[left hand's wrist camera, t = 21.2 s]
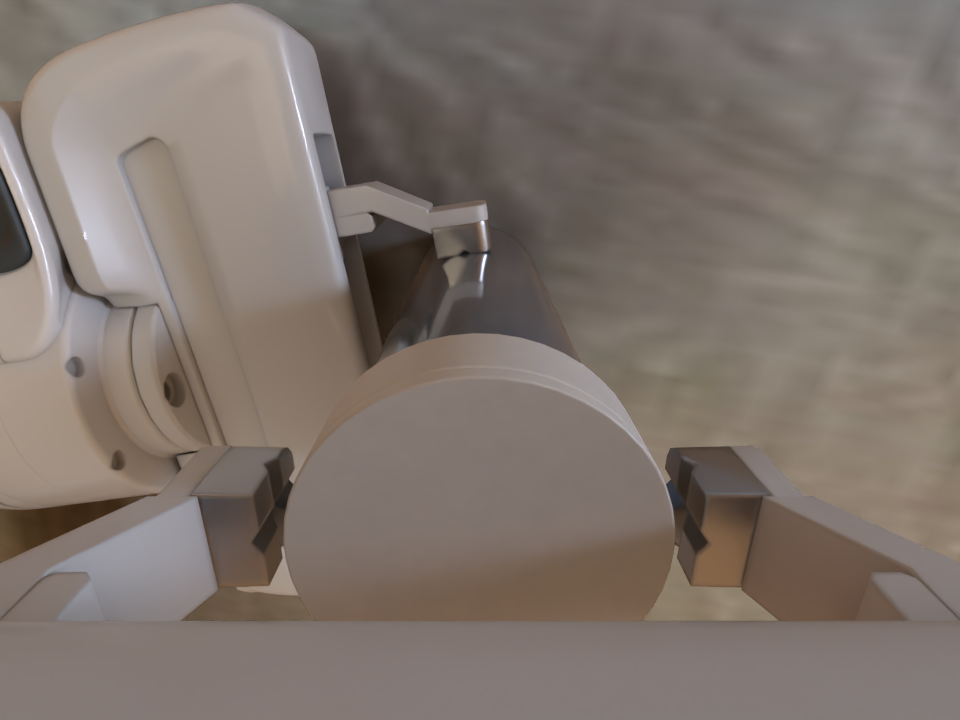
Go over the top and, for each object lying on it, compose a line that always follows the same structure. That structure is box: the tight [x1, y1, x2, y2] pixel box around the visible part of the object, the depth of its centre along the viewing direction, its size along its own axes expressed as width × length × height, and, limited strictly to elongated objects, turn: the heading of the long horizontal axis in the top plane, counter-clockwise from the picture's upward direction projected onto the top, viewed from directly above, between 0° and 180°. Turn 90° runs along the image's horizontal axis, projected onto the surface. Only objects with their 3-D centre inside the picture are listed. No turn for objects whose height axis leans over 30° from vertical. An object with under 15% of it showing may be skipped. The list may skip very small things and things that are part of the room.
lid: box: [283, 333, 675, 621], centre depth 9 cm, size 6×6×2 cm
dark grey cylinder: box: [374, 228, 582, 366], centre depth 16 cm, size 5×5×16 cm
